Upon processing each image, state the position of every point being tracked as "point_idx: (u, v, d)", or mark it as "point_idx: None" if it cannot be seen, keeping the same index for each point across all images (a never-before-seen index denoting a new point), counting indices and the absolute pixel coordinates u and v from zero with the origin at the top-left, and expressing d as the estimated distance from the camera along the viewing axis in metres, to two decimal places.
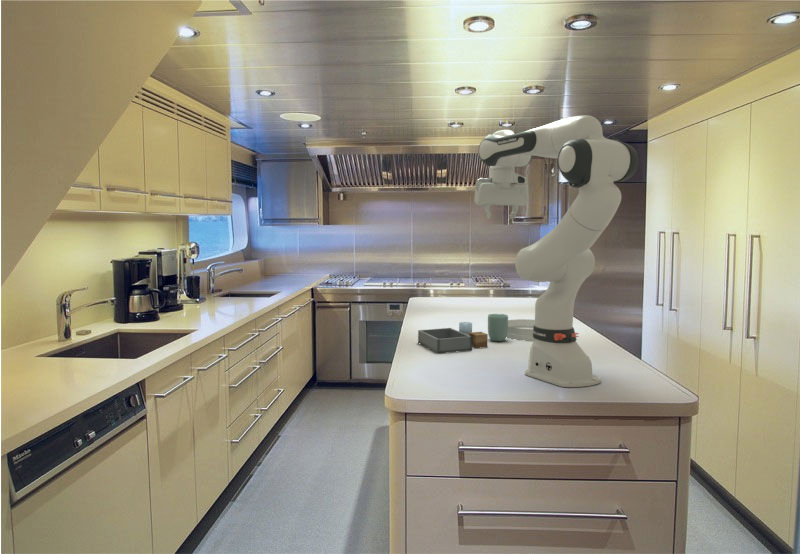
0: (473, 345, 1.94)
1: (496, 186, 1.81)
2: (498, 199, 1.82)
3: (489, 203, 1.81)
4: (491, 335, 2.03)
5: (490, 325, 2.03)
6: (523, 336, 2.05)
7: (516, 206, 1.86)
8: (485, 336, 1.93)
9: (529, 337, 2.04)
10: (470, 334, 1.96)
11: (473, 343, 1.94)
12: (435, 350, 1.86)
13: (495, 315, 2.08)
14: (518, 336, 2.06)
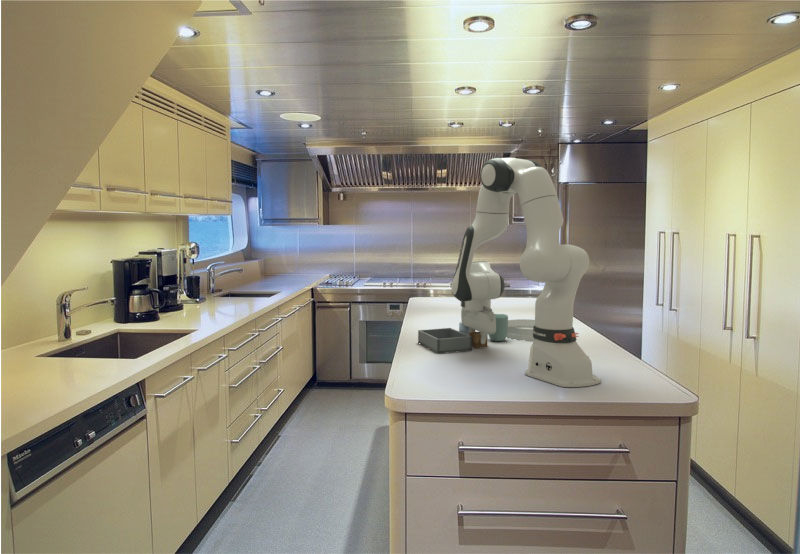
0: (473, 345, 1.94)
1: None
2: None
3: None
4: (491, 335, 2.03)
5: None
6: (523, 336, 2.05)
7: None
8: None
9: (529, 337, 2.04)
10: (470, 334, 1.96)
11: (473, 343, 1.94)
12: (435, 350, 1.86)
13: (495, 315, 2.08)
14: (518, 336, 2.06)
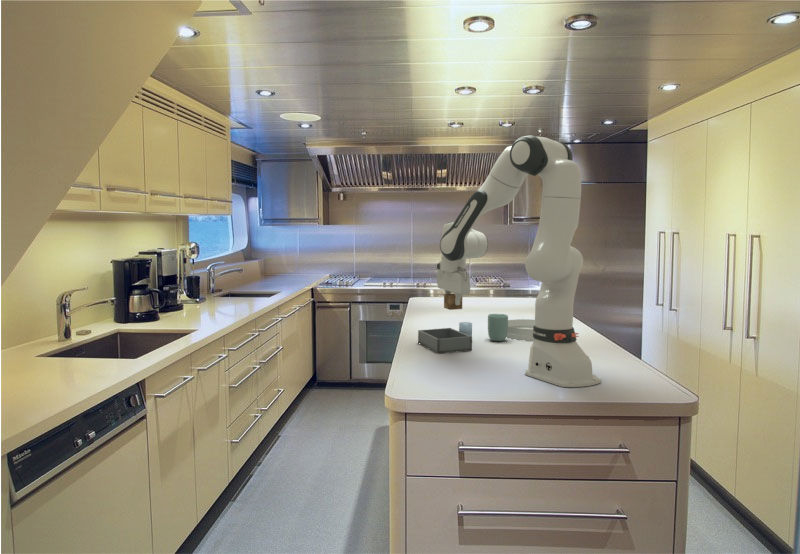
0: (448, 306, 1.91)
1: None
2: None
3: None
4: (491, 335, 2.03)
5: (490, 325, 2.03)
6: (523, 336, 2.05)
7: None
8: None
9: (529, 337, 2.04)
10: (445, 296, 1.93)
11: (448, 304, 1.91)
12: (435, 350, 1.86)
13: (495, 315, 2.08)
14: (518, 336, 2.06)
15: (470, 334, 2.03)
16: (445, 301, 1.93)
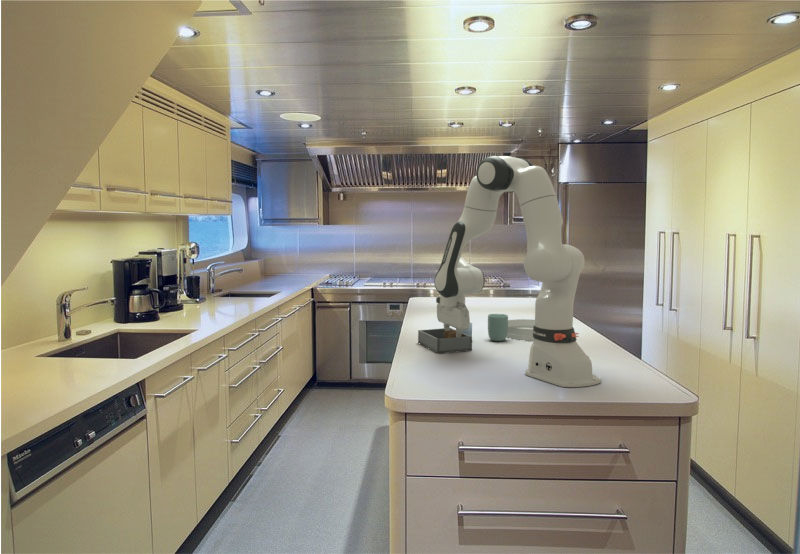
0: None
1: None
2: None
3: None
4: (491, 335, 2.03)
5: (490, 325, 2.03)
6: (523, 336, 2.05)
7: None
8: None
9: (529, 337, 2.04)
10: (445, 332, 1.94)
11: None
12: (435, 350, 1.86)
13: (495, 315, 2.08)
14: (518, 336, 2.06)
15: (470, 334, 2.03)
16: None
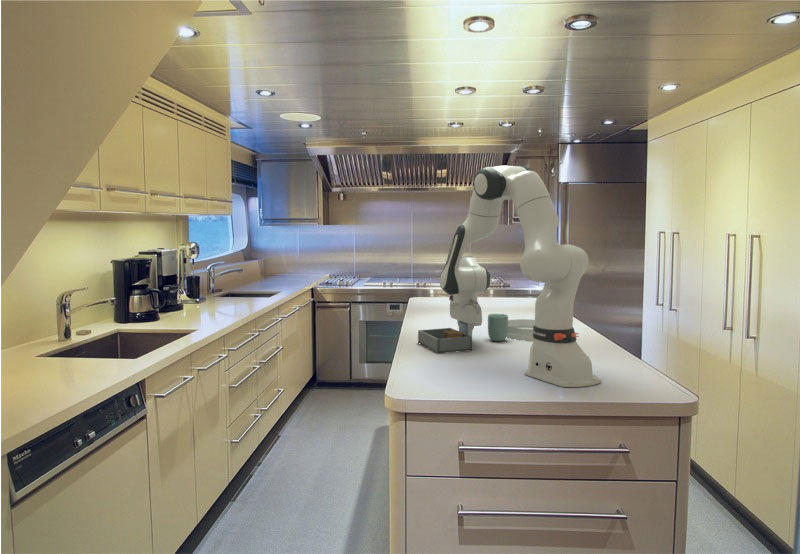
0: None
1: None
2: None
3: None
4: (491, 335, 2.03)
5: (490, 325, 2.03)
6: (523, 336, 2.05)
7: None
8: (460, 334, 1.92)
9: (529, 337, 2.04)
10: (445, 332, 1.94)
11: None
12: (435, 350, 1.86)
13: (495, 315, 2.08)
14: (518, 336, 2.06)
15: None
16: None
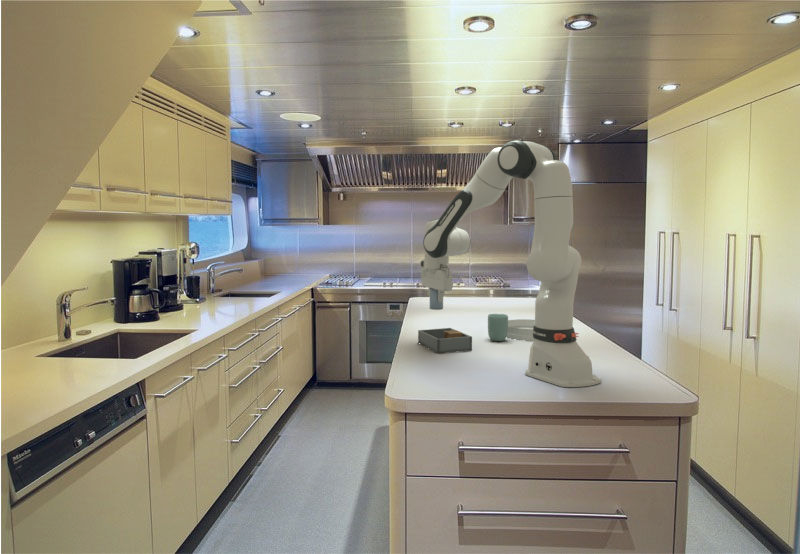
0: None
1: None
2: None
3: None
4: (491, 335, 2.03)
5: (490, 325, 2.03)
6: (523, 336, 2.05)
7: None
8: (460, 334, 1.92)
9: (529, 337, 2.04)
10: (445, 332, 1.94)
11: None
12: (435, 350, 1.86)
13: (495, 315, 2.08)
14: (518, 336, 2.06)
15: None
16: None
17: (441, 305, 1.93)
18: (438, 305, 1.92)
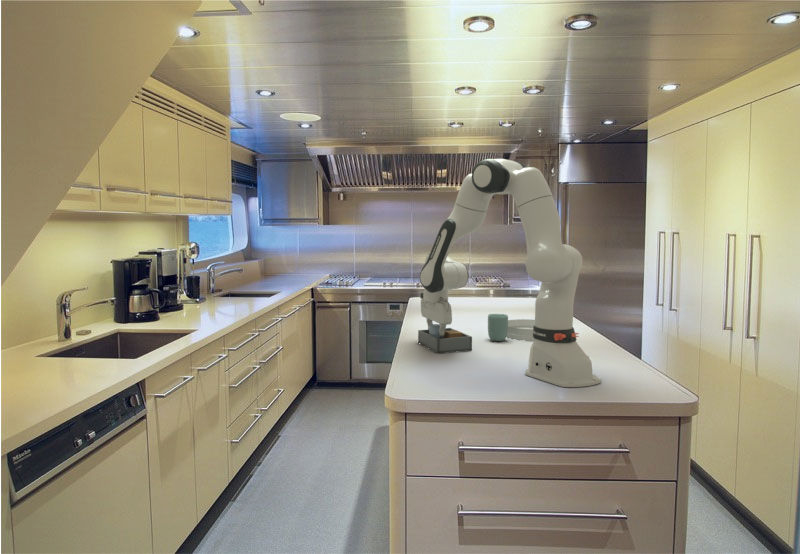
0: None
1: None
2: None
3: None
4: (491, 335, 2.03)
5: (490, 325, 2.03)
6: (523, 336, 2.05)
7: None
8: (460, 334, 1.92)
9: (529, 337, 2.04)
10: (445, 332, 1.94)
11: None
12: (435, 350, 1.86)
13: (495, 315, 2.08)
14: (518, 336, 2.06)
15: (440, 337, 1.94)
16: None
17: None
18: None
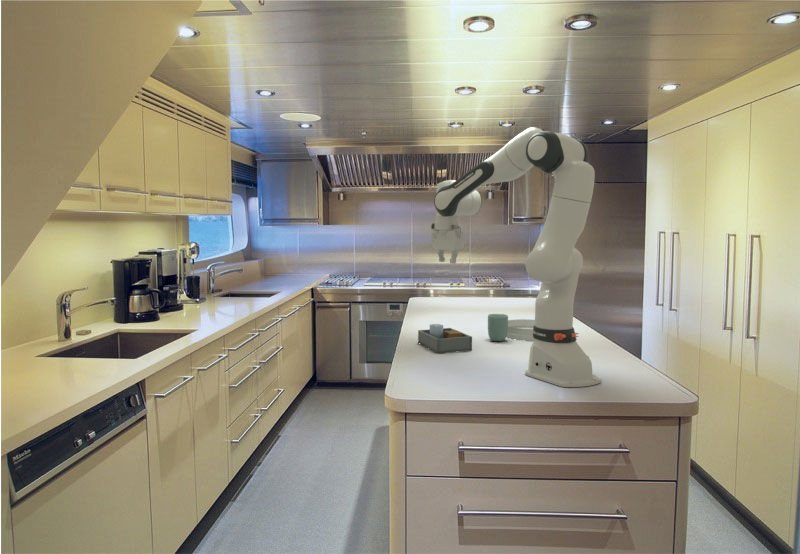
0: None
1: None
2: None
3: None
4: (491, 335, 2.03)
5: (490, 325, 2.03)
6: (523, 336, 2.05)
7: None
8: (460, 334, 1.92)
9: (529, 337, 2.04)
10: (445, 332, 1.94)
11: None
12: (435, 350, 1.86)
13: (495, 315, 2.08)
14: (518, 336, 2.06)
15: (440, 337, 1.94)
16: None
17: None
18: None
